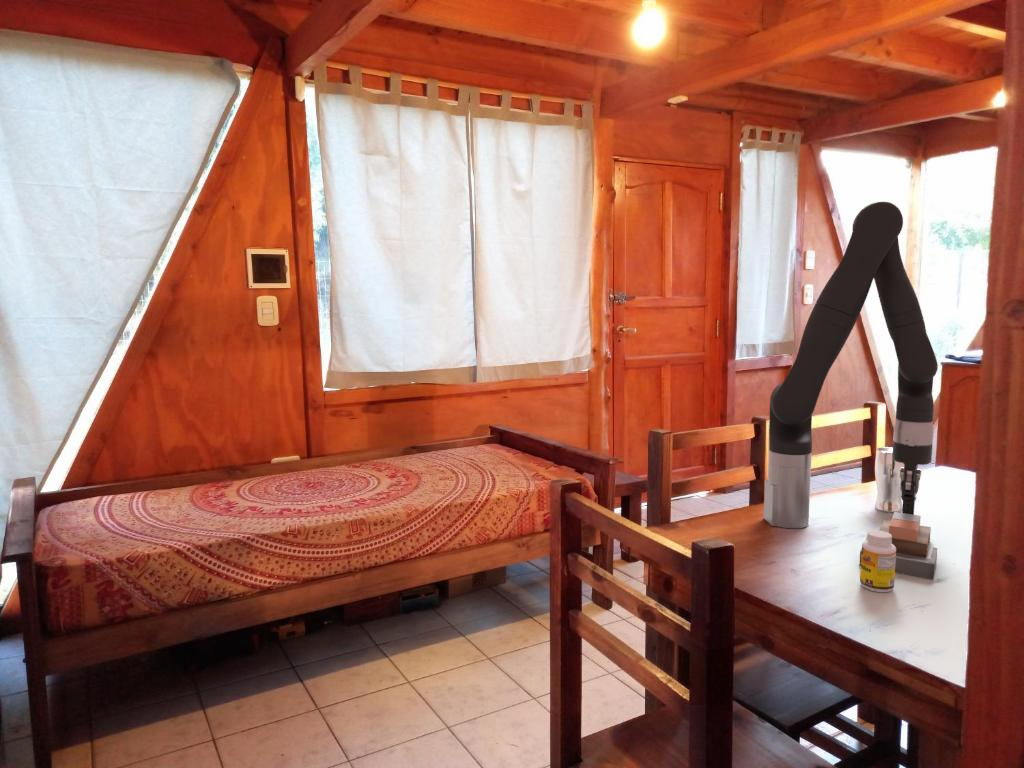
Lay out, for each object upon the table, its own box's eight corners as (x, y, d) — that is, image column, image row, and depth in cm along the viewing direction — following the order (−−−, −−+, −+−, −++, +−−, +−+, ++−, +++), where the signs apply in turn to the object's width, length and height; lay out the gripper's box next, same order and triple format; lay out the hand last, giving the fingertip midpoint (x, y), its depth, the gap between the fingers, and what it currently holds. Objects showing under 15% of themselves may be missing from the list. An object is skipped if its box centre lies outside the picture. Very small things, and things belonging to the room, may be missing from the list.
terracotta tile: (891, 530, 150) (891, 518, 149) (918, 534, 147) (918, 522, 147) (888, 537, 145) (889, 525, 145) (916, 541, 143) (917, 529, 142)
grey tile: (893, 522, 154) (894, 511, 154) (919, 526, 151) (920, 515, 151) (891, 529, 150) (891, 518, 150) (918, 533, 147) (918, 522, 147)
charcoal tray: (866, 550, 146) (866, 536, 146) (936, 562, 139) (937, 547, 139) (859, 565, 138) (860, 551, 138) (933, 579, 131) (934, 564, 131)
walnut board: (883, 532, 156) (883, 520, 156) (929, 540, 152) (930, 527, 151) (876, 549, 147) (877, 536, 146) (926, 558, 142) (927, 544, 141)
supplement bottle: (855, 580, 132) (858, 528, 130) (886, 581, 131) (889, 528, 130) (866, 593, 126) (869, 538, 125) (898, 594, 125) (902, 539, 124)
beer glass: (910, 513, 169) (913, 453, 167) (880, 513, 170) (883, 453, 168) (896, 505, 176) (899, 446, 174) (867, 505, 177) (871, 446, 175)
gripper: (895, 433, 160) (891, 506, 163) (890, 444, 149) (885, 522, 152) (934, 436, 156) (928, 511, 159) (931, 448, 145) (925, 528, 148)
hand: (907, 516), depth 155 cm, fingers closed
